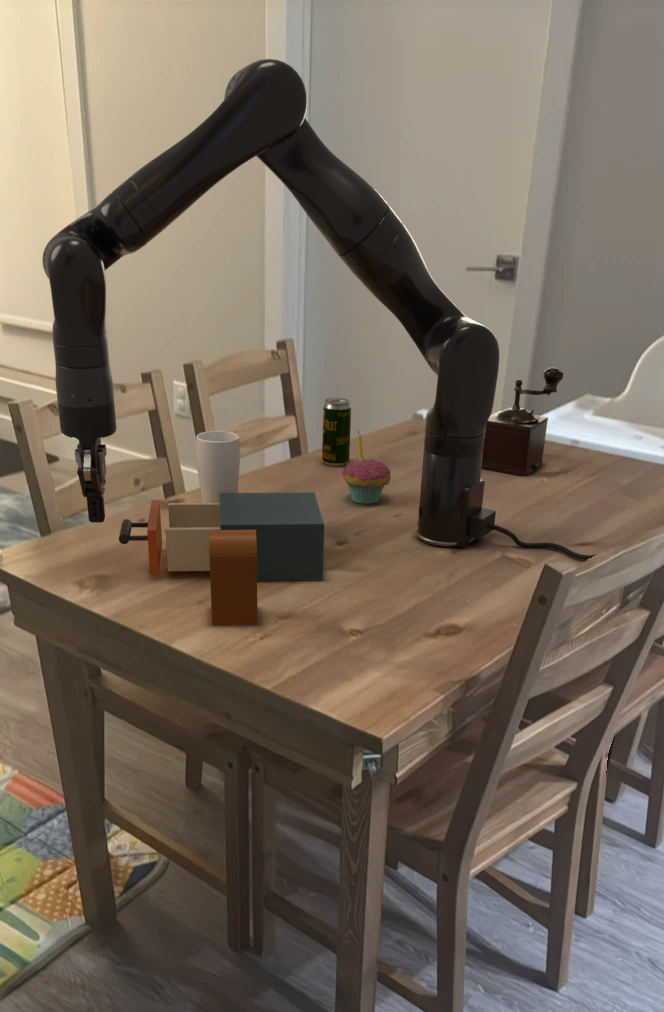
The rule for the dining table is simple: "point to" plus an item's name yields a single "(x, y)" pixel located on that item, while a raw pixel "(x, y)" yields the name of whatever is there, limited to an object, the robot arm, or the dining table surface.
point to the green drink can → (336, 432)
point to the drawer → (178, 535)
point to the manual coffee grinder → (518, 433)
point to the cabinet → (279, 532)
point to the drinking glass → (217, 464)
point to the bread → (233, 576)
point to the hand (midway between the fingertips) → (97, 520)
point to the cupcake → (366, 478)
